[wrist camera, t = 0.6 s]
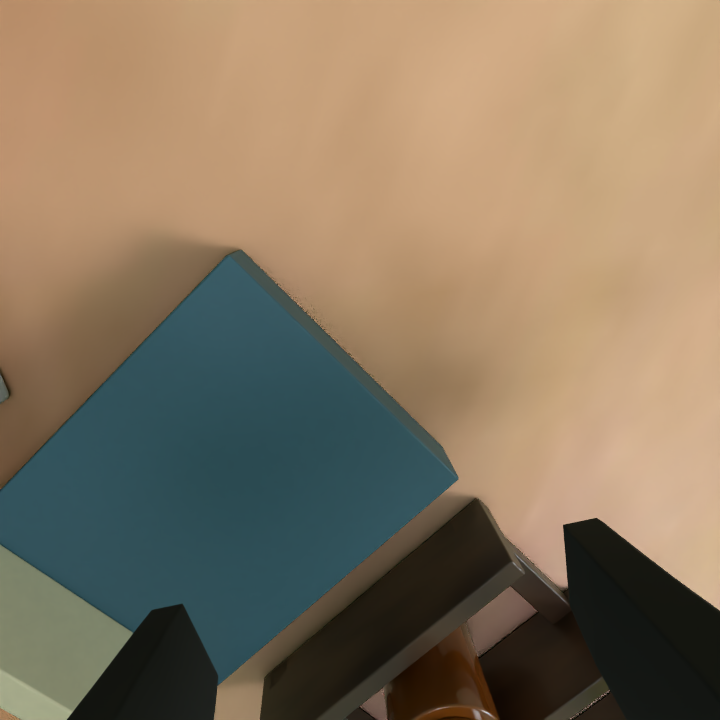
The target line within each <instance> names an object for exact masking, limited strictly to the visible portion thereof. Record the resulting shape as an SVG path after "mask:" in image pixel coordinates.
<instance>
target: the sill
mask: <svg viewBox="0 0 720 720" xmlns="http://www.w3.org/2000/svg"><path fill="white" fill-rule="evenodd" d="M457 480H458V476H457V474H456V472H455V470H454V468H453V466H452V464H451V462H450V460H449V459H448V457H447V455H446V453H445V451H444V449H443V447H442V446H441V445H440V444H439V443H438V442H437V441H436V440H435V439H434V438H433V437H432V436H431V435H430V434H429V433H428V432H427V431H426V430H425V429H423V428H422V427H421V426H420V425H419V424H418V423H417V422H416V421H415V420H414V419H413V418H412V417H411V416H410V415H409V414H408V413H407V412H406V411H405V410H404V409H403V408H402V407H401V406H400V405H399V404H398V403H397V402H396V401H395V400H394V399H393V398H392V397H391V396H390V395H389V394H388V393H387V392H386V391H385V390H384V389H383V388H382V387H381V386H380V385H379V384H378V383H377V382H376V381H375V380H374V379H373V378H372V377H371V376H370V375H369V374H367V373H366V372H365V371H364V370H363V369H362V368H361V367H360V366H359V365H358V364H357V363H356V362H355V361H354V360H353V359H352V358H351V357H350V356H349V355H348V354H347V353H346V352H345V351H344V350H343V349H342V348H341V347H340V346H339V345H338V344H337V343H336V342H335V341H334V340H333V339H332V338H331V337H330V336H329V335H328V334H327V333H326V332H325V331H324V330H323V329H322V328H321V327H320V326H319V325H318V324H317V323H316V322H315V321H314V320H313V319H311V318H310V317H309V316H308V315H307V314H306V313H305V312H304V311H303V310H302V309H301V308H300V307H299V306H298V305H297V304H296V303H295V302H294V301H293V300H292V299H291V298H290V297H289V296H288V295H287V294H286V293H285V292H284V291H283V290H282V289H281V288H280V287H279V286H278V285H277V284H276V283H275V282H274V281H273V280H272V279H271V278H270V277H269V276H268V275H267V274H266V273H265V272H264V271H263V270H262V269H261V268H260V267H259V266H258V265H257V264H256V263H254V262H253V261H252V260H251V259H250V258H249V257H248V256H247V255H246V254H245V253H244V252H243V251H242V250H238V251H236V252H233V253H231V254H229V255H226V256H225V257H224V258H223V260H222V261H221V262H220V263H219V264H218V265H217V266H216V267H215V268H214V269H213V270H212V271H211V272H210V273H209V274H208V275H207V276H206V277H205V278H204V279H203V280H202V281H201V282H200V283H199V284H198V285H197V286H196V287H195V289H194V290H193V291H192V292H191V293H190V294H189V295H188V296H187V297H186V298H185V299H184V300H183V301H182V302H181V303H180V304H179V305H178V306H177V307H176V308H175V309H174V310H173V311H172V312H171V313H170V314H169V315H168V317H167V318H166V319H165V320H164V321H163V322H162V323H161V324H160V325H159V326H158V327H157V328H156V329H155V330H154V331H153V332H152V333H151V334H150V335H149V336H148V337H147V338H146V339H145V340H144V341H143V342H142V343H141V344H140V346H139V347H138V348H137V349H136V350H135V351H134V352H133V353H132V354H131V355H130V356H129V357H128V358H127V359H126V360H125V361H124V362H123V363H122V364H121V365H120V366H119V367H118V368H117V369H116V370H115V371H114V372H113V374H112V375H111V376H110V377H109V378H108V379H107V380H106V381H105V382H104V383H103V384H102V385H101V386H100V387H99V388H98V389H97V390H96V391H95V392H94V393H93V394H92V395H91V396H90V397H89V398H88V399H87V400H86V401H85V403H84V404H83V405H82V406H81V407H80V408H79V409H78V410H77V411H76V412H75V413H74V414H73V415H72V416H71V417H70V418H69V419H68V420H67V421H66V422H65V423H64V424H63V425H62V426H61V427H60V428H59V429H58V431H57V432H56V433H55V434H54V435H53V436H52V437H51V438H50V439H49V440H48V441H47V442H46V443H45V444H44V445H43V446H42V447H41V448H40V449H39V450H38V451H37V452H36V453H35V454H34V455H33V456H32V457H31V458H30V460H29V461H28V462H27V463H26V464H25V465H24V466H23V467H22V468H21V469H20V470H19V471H18V472H17V473H16V474H15V475H14V476H13V477H12V478H11V479H10V480H9V481H8V482H7V483H6V484H5V485H4V486H3V488H2V489H1V490H0V708H2V709H3V710H5V711H7V712H9V713H10V714H12V715H14V716H16V717H18V718H19V719H21V720H67V719H68V717H69V716H70V715H71V713H72V712H73V711H74V710H75V708H76V707H77V706H78V704H79V703H80V702H81V701H82V699H83V698H84V697H85V695H86V694H87V693H88V692H89V690H90V689H91V688H92V686H93V685H94V684H95V683H96V681H97V680H98V679H99V677H100V676H101V675H102V673H103V672H104V671H105V670H106V668H107V667H108V666H109V664H110V663H111V662H112V660H113V659H114V658H115V656H116V655H117V654H118V652H119V651H120V650H121V649H122V647H123V646H124V645H125V643H126V642H127V641H128V639H129V638H130V637H131V635H132V634H133V633H134V632H135V630H136V629H137V628H138V626H139V625H140V624H141V623H142V621H143V620H144V619H145V618H146V616H147V615H148V614H149V613H150V612H151V610H154V609H158V608H163V607H168V606H173V605H178V604H183V605H184V607H185V609H186V611H187V613H188V615H189V617H190V619H191V621H192V623H193V625H194V627H195V629H196V631H197V633H198V635H199V637H200V639H201V641H202V643H203V646H204V648H205V650H206V652H207V654H208V656H209V658H210V660H211V662H212V664H213V666H214V668H215V670H216V672H217V674H218V685H219V684H220V683H221V682H223V681H224V680H225V679H226V678H227V677H228V676H230V675H231V674H232V673H233V672H234V671H235V670H237V669H238V668H239V667H240V666H241V665H242V664H244V663H245V662H246V661H247V660H248V659H249V658H251V657H252V656H253V655H254V654H255V653H256V652H258V651H259V650H260V649H261V648H262V647H263V646H265V645H266V644H267V643H268V642H269V641H270V640H272V639H273V638H274V637H275V636H276V635H277V634H279V633H280V632H281V631H282V630H283V629H284V628H286V627H287V626H288V625H289V624H290V623H291V622H293V621H294V620H295V619H296V618H297V617H298V616H300V615H301V614H302V613H303V612H304V611H305V610H307V609H308V608H309V607H310V606H311V605H312V604H314V603H315V602H316V601H317V600H318V599H319V598H321V597H322V596H323V595H324V594H325V593H326V592H328V591H329V590H330V589H331V588H332V587H333V586H335V585H336V584H337V583H338V582H339V581H340V580H342V579H343V578H344V577H345V576H346V575H347V574H349V573H350V572H351V571H352V570H353V569H354V568H356V567H357V566H358V565H359V564H360V563H361V562H363V561H364V560H365V559H366V558H367V557H368V556H370V555H371V554H372V553H373V552H374V551H375V550H377V549H378V548H379V547H380V546H381V545H382V544H384V543H385V542H386V541H387V540H388V539H389V538H391V537H392V536H393V535H394V534H395V533H396V532H398V531H399V530H400V529H401V528H402V527H403V526H405V525H406V524H407V523H408V522H409V521H410V520H411V519H413V518H414V517H415V516H416V515H417V514H418V513H420V512H421V511H422V510H423V509H424V508H425V507H427V506H428V505H429V504H430V503H431V502H432V501H434V500H435V499H436V498H437V497H438V496H439V495H441V494H442V493H443V492H444V491H445V490H446V489H448V488H449V487H450V486H451V485H452V484H453V483H455V482H456V481H457ZM218 685H217V686H218Z"/></svg>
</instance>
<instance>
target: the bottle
mask: <svg viewBox="0 0 720 720" xmlns="http://www.w3.org/2000/svg"><path fill="white" fill-rule="evenodd" d="M383 689H384V697H385V704H386V712H387V719H388V720H500V718H499V715H498V712H497V709H496V706H495V704H494V701H493V698H492V695H491V692H490V690H489V687H488V684H487V681H486V678H485V676H484V673H483V670H482V667H481V664H480V662H479V659H478V656H477V653H476V651H475V648H474V645H473V642H472V639H471V637H470V634H469V631H468V628H467V625H466V623H465V622H464V623H463V624H462V625H460V626H459V627H458V628H457V629H455V630H454V631H453V632H452V633H450V634H449V635H448V636H447V637H445V638H444V639H443V640H442V641H440V642H439V643H438V644H437V645H435V646H434V647H433V648H432V649H430V650H429V651H428V652H427V653H425V654H424V655H423V656H422V657H420V658H419V659H418V660H417V661H415V662H414V663H413V664H412V665H410V666H409V667H408V668H407V669H405V670H404V671H403V672H402V673H400V674H399V675H398V676H397V677H395V678H394V679H393V680H392V681H390V682H389V683H388V684H387V685H385V686H384V687H383Z"/></svg>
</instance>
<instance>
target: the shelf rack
mask: <svg viewBox="0 0 720 720" xmlns="http://www.w3.org/2000/svg"><path fill="white" fill-rule="evenodd" d="M509 586H511V587H512V588H513V589H514V590H516V591H517V592H518V593H519V594H520V595H521V596H522V597H523V598H524V599H525V600H526V601H527V602H529V603H530V604H531V605H532V606H533V607H534V608H535V609H536V610H537V611H538V613H537V614H536V615H535V616H533V617H532V618H531V619H530V620H528V621H527V622H526V623H524V624H523V625H522V626H521V627H519V628H518V629H517V630H515V631H514V632H513V633H512V634H510V635H509V636H508V637H507V638H505V639H504V640H503V641H501V642H500V643H499V644H498V645H496V646H495V647H494V648H492V649H491V650H490V651H489V652H487V653H486V654H485V655H484V656H482V657H481V658H480V659H479V662H480V664H481V667H482V670H483V673H484V676H485V678H486V681H487V684H488V687H489V690H490V692H491V695H492V698H493V701H494V704H495V706H496V709H497V712H498V715H499V718H500V720H569V719H570V718H571V717H573V716H574V715H575V714H577V713H578V712H579V711H581V710H582V709H584V708H585V707H586V706H588V705H589V704H590V703H592V702H593V701H594V700H596V699H597V698H598V697H600V696H601V695H603V694H604V693H605V692H607V691H608V690H609V687H608V686H607V684H606V682H605V680H604V679H603V677H602V675H601V673H600V671H599V669H598V668H597V666H596V664H595V662H594V659H593V657H592V655H591V653H590V651H589V648H588V646H587V644H586V642H585V640H584V637H583V635H582V633H581V631H580V628H579V626H578V624H577V621H576V619H575V617H574V614H573V612H572V610H571V607H570V603H569V591H568V590H567V591H565V592H564V593H563V592H562V591H561V590H560V589H559V588H558V587H557V586H556V585H554V584H553V583H552V582H551V581H550V580H549V579H548V578H547V577H546V576H545V575H544V574H543V573H542V572H541V571H540V570H539V569H538V568H537V567H536V566H535V565H534V564H533V563H531V562H530V561H529V560H528V559H527V558H526V557H525V556H524V555H523V554H522V553H521V552H520V551H519V550H518V549H517V548H516V547H515V546H514V545H513V544H512V543H511V542H510V541H509V540H507V539H506V538H505V537H504V535H503V533H502V531H501V530H500V528H499V526H498V524H497V523H496V521H495V519H494V518H493V516H492V514H491V512H490V511H489V509H488V508H487V507H486V506H485V505H484V504H483V503H482V502H481V501H480V500H479V499H475V500H474V501H473V502H472V503H471V504H469V505H468V506H467V507H466V508H465V509H463V510H462V511H461V512H460V513H459V514H458V515H456V516H455V517H454V518H453V519H452V520H451V521H449V522H448V523H447V524H446V525H445V526H443V527H442V528H441V529H440V530H439V531H438V532H436V533H435V534H434V535H433V536H432V537H430V538H429V539H428V540H427V541H426V542H424V543H423V544H422V545H421V546H420V547H419V548H417V549H416V550H415V551H414V552H413V553H411V554H410V555H409V556H408V557H407V558H406V559H404V560H403V561H402V562H401V563H400V564H398V565H397V566H396V567H395V568H394V569H393V570H391V571H390V572H389V573H388V574H387V575H385V576H384V577H383V578H382V579H381V580H379V581H378V582H377V583H376V584H375V585H374V586H372V587H371V588H370V589H369V590H368V591H366V592H365V593H364V594H363V595H362V596H361V597H359V598H358V599H357V600H356V601H355V602H353V603H352V604H351V605H350V606H349V607H347V608H346V609H345V610H344V611H343V612H342V613H340V614H339V615H338V616H337V617H336V618H334V619H333V620H332V621H331V622H330V623H329V624H327V625H326V626H325V627H324V628H323V629H321V630H320V631H319V632H318V633H317V634H316V635H314V636H313V637H312V638H311V639H310V640H308V641H307V642H306V643H305V644H304V645H302V646H301V647H300V648H299V649H298V650H297V651H295V652H294V653H293V654H292V655H291V656H289V657H288V658H287V659H286V660H284V661H283V662H282V663H281V664H280V665H279V666H277V667H276V668H275V669H274V670H273V671H271V673H269V674H268V675H267V676H266V677H265V679H264V688H263V696H262V704H261V713H260V720H375V719H373V718H372V717H371V716H369V715H368V714H366V713H365V712H364V711H362V710H361V709H360V708H358V707H359V706H360V705H362V704H363V703H364V702H365V701H367V700H368V699H369V698H370V697H372V696H373V695H374V694H375V693H377V692H378V691H379V690H380V689H382V688H383V687H384V686H385V685H387V684H388V683H389V682H390V681H392V680H393V679H394V678H395V677H397V676H398V675H399V674H400V673H402V672H403V671H404V670H405V669H407V668H408V667H409V666H410V665H412V664H413V663H414V662H415V661H417V660H418V659H419V658H420V657H422V656H423V655H424V654H425V653H427V652H428V651H429V650H430V649H432V648H433V647H434V646H435V645H437V644H438V643H439V642H440V641H442V640H443V639H444V638H445V637H447V636H448V635H449V634H450V633H452V632H453V631H454V630H455V629H457V628H458V627H459V626H460V625H462V624H463V623H464V622H465V621H467V620H468V619H469V618H470V617H472V616H473V615H474V614H475V613H477V612H478V611H479V610H480V609H482V608H483V607H484V606H485V605H487V604H488V603H489V602H490V601H492V600H493V599H494V598H495V597H497V596H498V595H499V594H500V593H502V592H503V591H504V590H505V589H507V588H508V587H509ZM575 720H627V719H626V718H625V716H624V714H623V712H622V711H621V709H620V707H619V705H618V703H617V702H616V700H615V698H614V696H613V695H612V693H610V694H609V695H607V696H606V697H605V698H603V699H602V700H601V701H599V702H598V703H596V704H595V705H594V706H592V707H591V708H590V709H588V710H587V711H586V712H584V713H583V714H581V715H580V716H579V717H577V718H576V719H575Z"/></svg>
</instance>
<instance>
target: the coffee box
mask: <svg viewBox="0 0 720 720" xmlns="http://www.w3.org/2000/svg"><path fill="white" fill-rule="evenodd" d="M8 397H9V393H8V390H7V388H6V386H5V383H4V381H3V379H2V377H1V375H0V403H2V402H4V401H5V400H7V399H8Z"/></svg>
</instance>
